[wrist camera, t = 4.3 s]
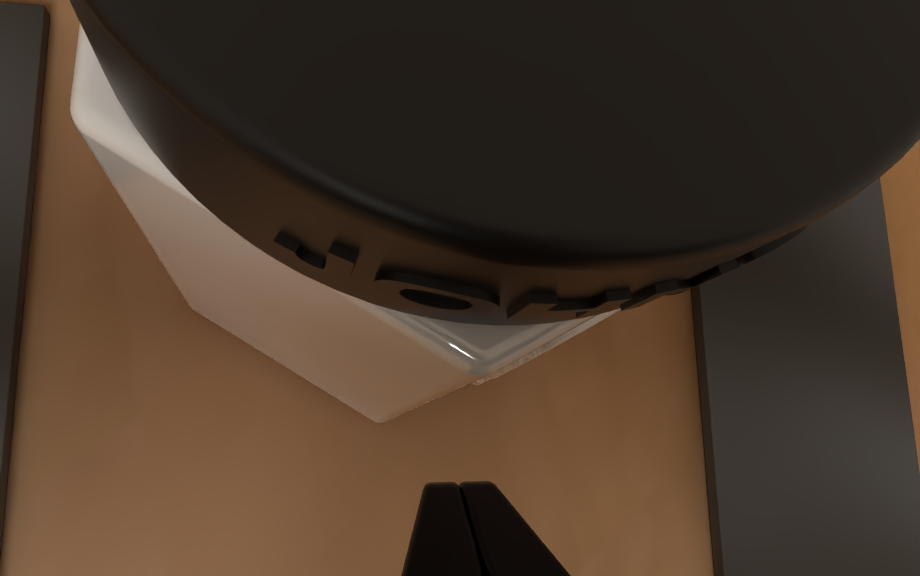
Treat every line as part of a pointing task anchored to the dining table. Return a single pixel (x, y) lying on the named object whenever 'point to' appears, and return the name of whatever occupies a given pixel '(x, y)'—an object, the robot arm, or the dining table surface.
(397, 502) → the dining table surface
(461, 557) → the robot arm
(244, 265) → the jar
